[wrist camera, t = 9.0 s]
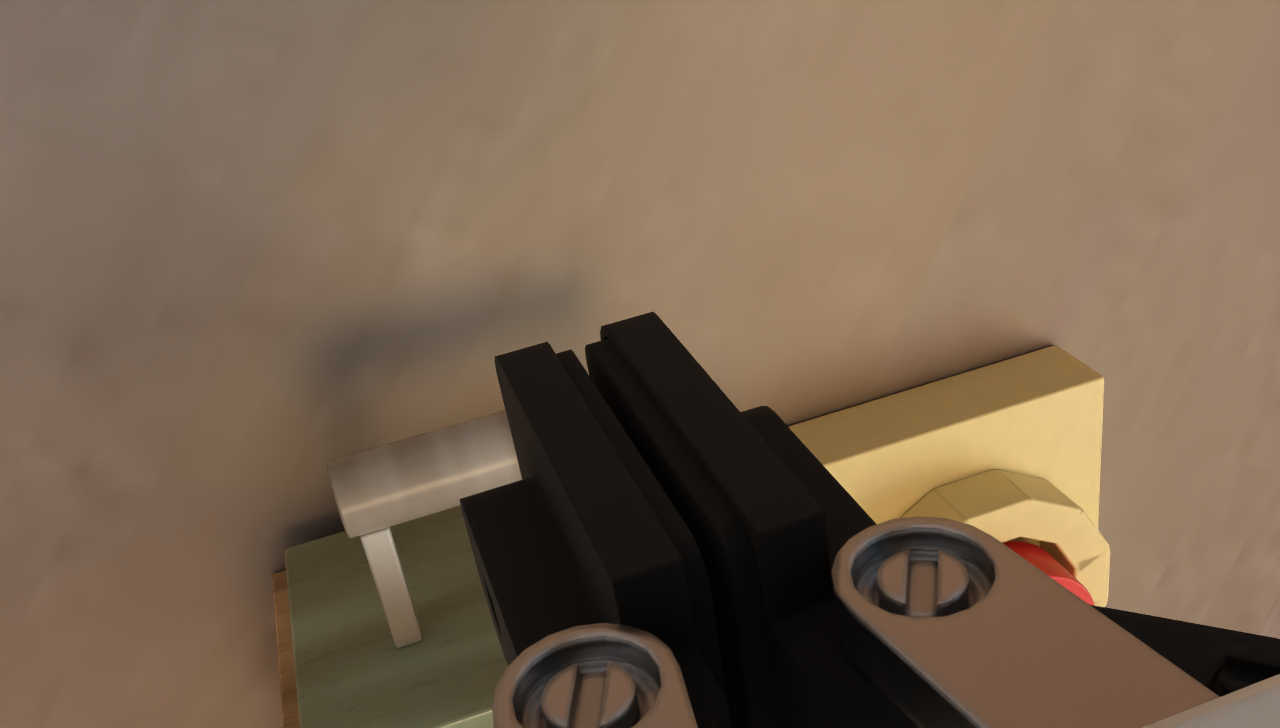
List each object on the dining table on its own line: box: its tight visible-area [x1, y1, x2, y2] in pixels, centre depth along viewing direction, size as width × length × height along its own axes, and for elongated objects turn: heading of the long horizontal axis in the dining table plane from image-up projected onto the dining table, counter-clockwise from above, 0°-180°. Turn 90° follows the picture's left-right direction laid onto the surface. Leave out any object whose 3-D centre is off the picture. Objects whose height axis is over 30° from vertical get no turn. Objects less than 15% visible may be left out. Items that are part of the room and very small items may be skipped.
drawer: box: [285, 410, 522, 728], centre depth 29 cm, size 17×11×8 cm, turn 9°
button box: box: [789, 345, 1110, 607], centre depth 35 cm, size 11×9×4 cm
